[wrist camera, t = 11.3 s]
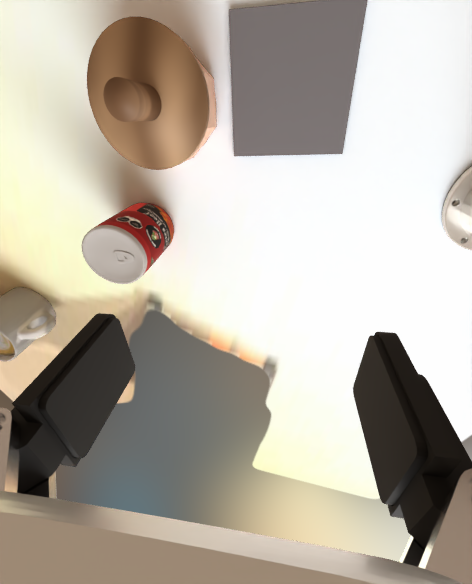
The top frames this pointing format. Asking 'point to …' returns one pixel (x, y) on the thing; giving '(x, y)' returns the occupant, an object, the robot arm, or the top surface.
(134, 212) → the canned food
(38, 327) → the coffee mug
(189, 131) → the lid
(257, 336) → the top surface
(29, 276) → the top surface
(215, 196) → the top surface
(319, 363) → the top surface
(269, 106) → the mat
